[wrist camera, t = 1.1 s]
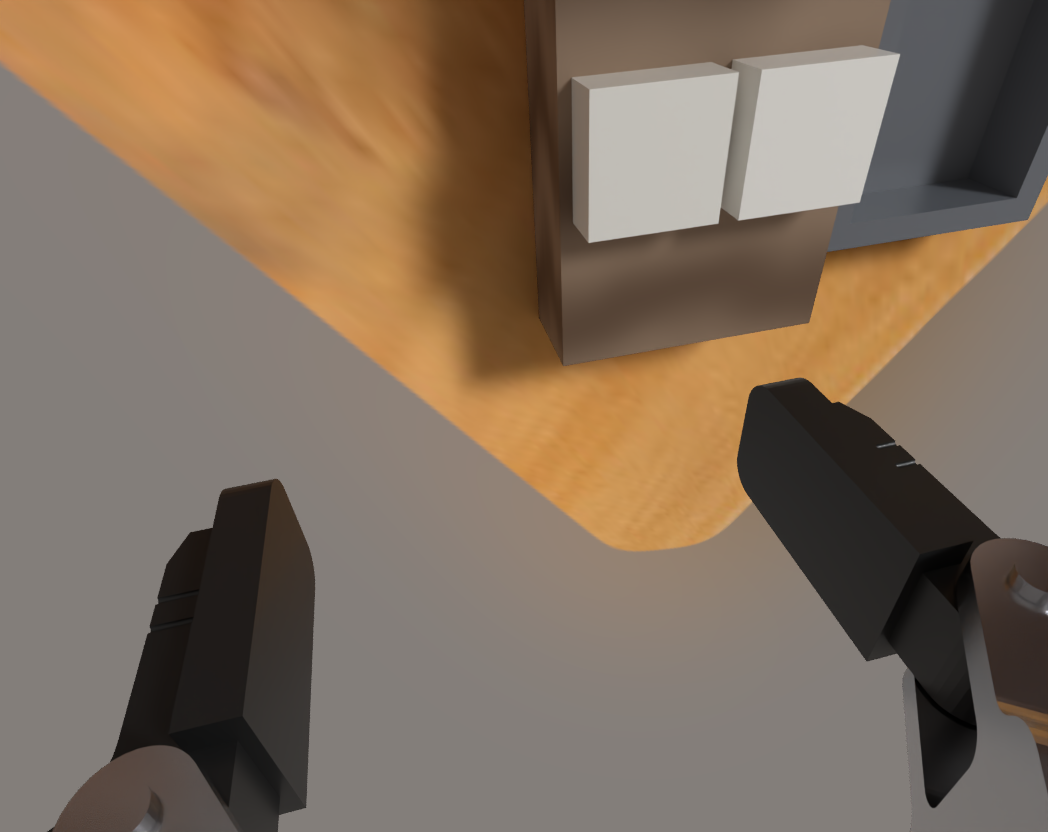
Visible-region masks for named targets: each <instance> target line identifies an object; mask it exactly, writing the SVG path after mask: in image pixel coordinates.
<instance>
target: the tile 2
mask: <svg viewBox="0 0 1048 832" xmlns="http://www.w3.org/2000/svg"><path fill="white" fill-rule="evenodd" d="M899 57H900V54H898V53H894V52H890V51H885V50H881V49H877V48H872V47H868V46H864V45H859V46H850V47H841V48H832V49H823V50H814V51H805V52H796V53H787V54H778V55H769V56H760V57H751V58H742V59H733V61H732V69H731V70H734V71H737V72H739V77H738V84H737V92H736V99H735V106H734V113H733V121H732V128H731V135H730V143H729V150H728V157H727V164H726V172H725V179H724V186H723V194H722V201H721V208H722V209H724V210H725V211H726V212H728V213H729V214H730V215H732V216H733V217H734V218H736V219H737V220H738V221H739V220H746V219H753V218H759V217H766V216H773V215H779V214H786V213H793V212H799V211H806V210H813V209H820V208H826V207H833V206H840V205H846V204H853V203H860V200H861V196H862V192H863V189H864V185H865V181H866V178H867V174H868V170H869V167H870V163H871V159H872V156H873V152H874V148H875V145H876V141H877V137H878V134H879V130H880V126H881V123H882V119H883V115H884V112H885V108H886V105H887V101H888V97H889V94H890V90H891V86H892V83H893V79H894V75H895V72H896V68H897V64H898V61H899Z"/></svg>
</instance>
